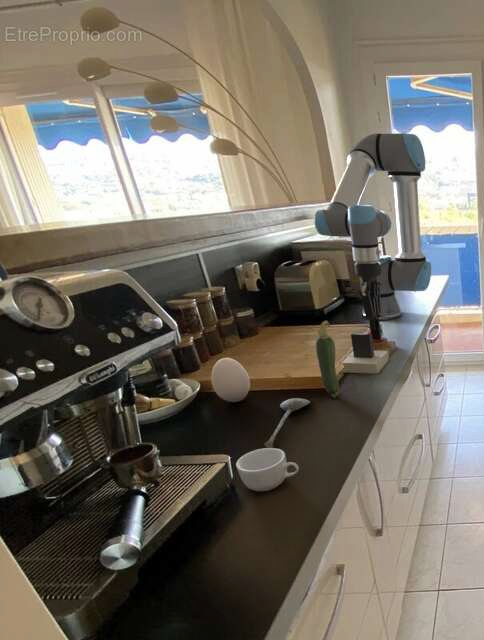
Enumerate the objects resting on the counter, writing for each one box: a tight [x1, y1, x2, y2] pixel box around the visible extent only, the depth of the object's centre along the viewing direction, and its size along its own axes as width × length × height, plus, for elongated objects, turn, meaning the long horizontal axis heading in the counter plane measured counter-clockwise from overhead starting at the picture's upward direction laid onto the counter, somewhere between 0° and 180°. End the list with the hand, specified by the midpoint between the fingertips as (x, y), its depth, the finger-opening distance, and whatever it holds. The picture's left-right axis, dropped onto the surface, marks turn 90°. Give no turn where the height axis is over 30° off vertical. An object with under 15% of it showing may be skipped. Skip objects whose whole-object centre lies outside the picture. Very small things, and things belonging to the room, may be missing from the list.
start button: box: [372, 336, 383, 343], centre depth 143 cm, size 4×4×2 cm
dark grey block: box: [350, 331, 374, 358], centre depth 131 cm, size 6×2×7 cm, turn 85°
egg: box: [210, 357, 251, 403], centre depth 109 cm, size 8×8×11 cm
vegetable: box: [315, 320, 340, 399], centre depth 111 cm, size 4×4×20 cm
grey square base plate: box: [339, 351, 390, 374], centre depth 133 cm, size 11×11×3 cm
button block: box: [373, 336, 397, 357], centre depth 144 cm, size 10×9×4 cm
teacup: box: [235, 447, 300, 492], centre depth 80 cm, size 10×8×5 cm
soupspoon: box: [263, 397, 311, 448], centre depth 101 cm, size 22×3×7 cm
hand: (376, 338), depth 142 cm, fingers closed
